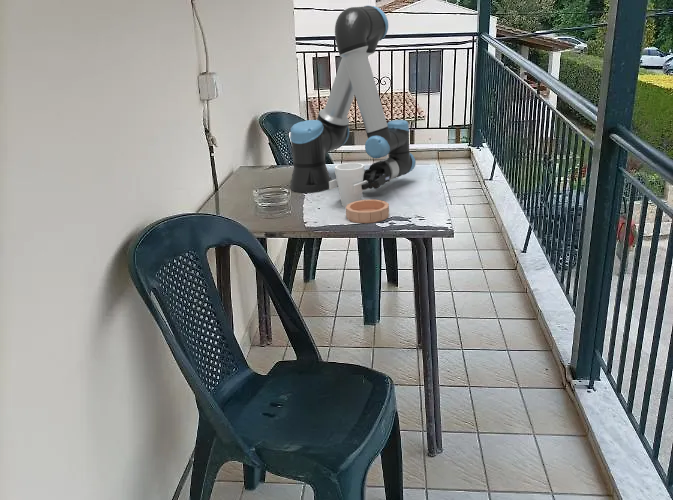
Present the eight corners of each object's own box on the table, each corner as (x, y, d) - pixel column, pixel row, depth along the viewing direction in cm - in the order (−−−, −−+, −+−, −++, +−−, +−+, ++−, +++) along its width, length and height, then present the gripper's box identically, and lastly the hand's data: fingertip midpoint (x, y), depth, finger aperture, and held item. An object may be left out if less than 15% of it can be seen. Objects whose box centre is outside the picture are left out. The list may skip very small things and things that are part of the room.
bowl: (338, 219, 197) (337, 208, 195) (364, 207, 206) (363, 197, 204) (371, 225, 189) (371, 214, 187) (397, 213, 198) (396, 203, 196)
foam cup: (345, 211, 204) (343, 171, 199) (332, 204, 211) (329, 166, 207) (371, 205, 208) (369, 166, 203) (357, 198, 215) (355, 161, 211)
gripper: (410, 185, 214) (369, 203, 198) (358, 178, 228) (317, 194, 212) (409, 163, 211) (368, 180, 196) (357, 157, 225) (315, 172, 209)
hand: (341, 187), depth 204 cm, fingers closed on foam cup, 9 cm apart
